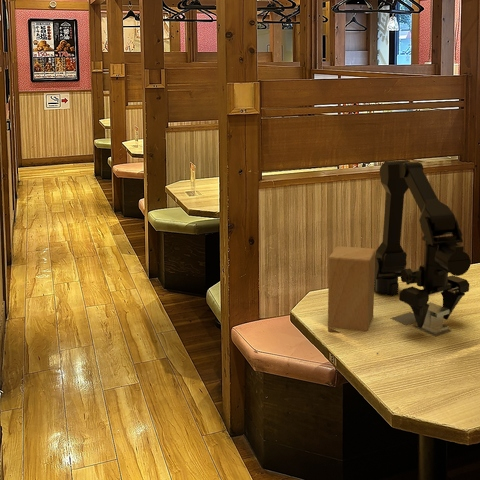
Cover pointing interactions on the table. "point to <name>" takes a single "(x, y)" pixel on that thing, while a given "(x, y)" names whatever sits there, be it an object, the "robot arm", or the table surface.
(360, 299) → the wooden block
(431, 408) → the table surface
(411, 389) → the table surface
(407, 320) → the stand
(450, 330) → the stand
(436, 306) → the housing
